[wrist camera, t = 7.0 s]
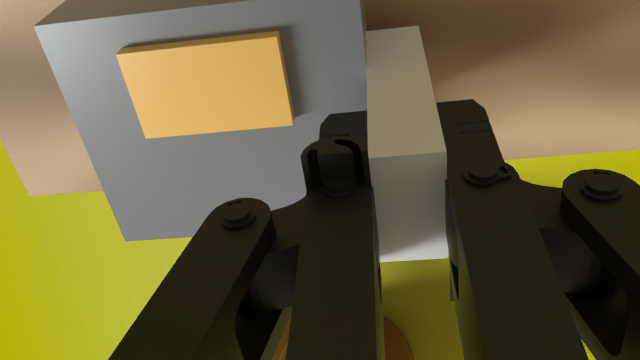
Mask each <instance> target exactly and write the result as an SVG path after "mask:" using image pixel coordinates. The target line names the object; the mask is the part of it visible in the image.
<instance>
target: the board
mask: <svg viewBox="0 0 640 360" xmlns="http://www.w3.org/2000/svg"><path fill="white" fill-rule="evenodd" d="M64 1H66V0H0V140H1V141H2V143H3V145H4V147H5V149H6V151H7V153H8V155H9V157H10V159H11V161H12V163H13V165H14V167H15V169H16V171H17V173H18V174H19V176H20V178H21V180H22V182H23V184H24V186H25V188H26V190H27V192H28V194H29V196H40V195H53V194H66V193H79V192H92V191H104V190H103V188H102V185H101V183H100V181H99V178H98V176H97V174H96V171H95V169H94V167H93V164H92V162H91V160H90V157H89V155H88V153H87V150H86V148H85V146H84V143H83V141H82V139H81V136H80V134H79V132H78V129H77V127H76V125H75V122H74V120H73V118H72V115H71V113H70V111H69V108H68V106H67V104H66V101H65V99H64V97H63V94H62V92H61V90H60V87H59V85H58V83H57V80H56V78H55V76H54V73H53V71H52V69H51V66H50V64H49V62H48V59H47V57H46V54H45V52H44V50H43V47H42V45H41V43H40V40H39V38H38V36H37V33H36V31H35V29H34V25H35V24H37V23H38V22H39V21H40V20H42V19H43V18H44V17H45V16H47V15H48V14H49V13H51V12H52V11H53V10H54V9H56V8H57V7H58V6H59V5H61V4H62V3H63V2H64ZM364 7H365V18H366V28H367V31H373V30H382V29H391V28H400V27H410V26H419V29H420V34H421V38H422V43H423V47H424V52H425V56H426V61H427V65H428V70H429V74H430V79H431V83H432V88H433V92H434V97H435V101H436V102H447V101H457V100H468V99H473V100H474V101H476V102H477V103H478V104H480V105H481V106H482V107H484V108H485V110H486V113H487V115H488V118H489V122H490V124H491V126H492V129H493V132H494V135H495V137H496V140H497V143H498V146H499V149H500V151H501V154H502V157H503V160H507V159H520V158H533V157H546V156H559V155H572V154H585V153H598V152H611V151H624V150H637V149H640V0H364Z"/></svg>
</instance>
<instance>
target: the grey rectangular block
mask: <svg viewBox="0 0 640 360" xmlns="http://www.w3.org/2000/svg"><path fill="white" fill-rule="evenodd" d="M34 29H35V31H36V33H37V36H38V38H39V40H40V43H41V45H42V47H43V50H44V52H45V54H46V57H47V59H48V62H49V64H50V66H51V69H52V71H53V73H54V76H55V78H56V80H57V83H58V85H59V87H60V90H61V92H62V94H63V97H64V99H65V101H66V104H67V106H68V108H69V111H70V113H71V115H72V118H73V120H74V122H75V125H76V127H77V129H78V132H79V134H80V136H81V139H82V141H83V143H84V146H85V148H86V150H87V153H88V155H89V157H90V160H91V162H92V164H93V167H94V169H95V171H96V174H97V176H98V178H99V181H100V183H101V185H102V188H103V190H104V192H105V195H106V197H107V199H108V202H109V204H110V206H111V209H112V211H113V213H114V216H115V218H116V220H117V223H118V225H119V227H120V230H121V232H122V234H123V237H124V239H125V241H137V240H152V239H166V238H181V237H193V236H194V235H195V233H196V232H197V231H198V229H199V228H200V226H201V225H202V223H203V222H204V220H205V219H206V218H207V216H208V215H209V214H210V213H211V212H212V211H213V210H214V209H215V208H216V207H218V206H219V205H221V204H223V203H225V202H227V201H230V200H234V199H237V198H255V199H260V200H262V201H264V202H265V203H266V204H268V205H269V208H270V210H271V211H272V210H275V209H279V208H282V207H285V206H288V205H291V204H293V203H295V202H297V201H299V200H301V199H302V198H303V197H305V196H306V191H307V190H306V185H305V179H304V174H303V169H302V163H301V158H300V156H301V154H302V152H303V150H304V149H305V148H306V147H307V146H309V145H310V144H311V143H313V142H315V141H318V140H319V132H320V125H321V124H322V122H323V121H324V120H325V119H326V118H327V116H328V115H329V114H334V113H345V112H355V111H366V110H367V77H366V31H367V28H366V18H365V7H364V0H66V1H64V2H63V3H62V4H61V5H59V6H58V7H57V8H56V9H54V10H53V11H52V12H51V13H49V14H48V15H47V16H45V17H44V18H43V19H42V20H40V21H39V22H38V23H37V24H35V25H34Z"/></svg>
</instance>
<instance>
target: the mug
mask: <svg viewBox="0 0 640 360" xmlns="http://www.w3.org/2000/svg"><path fill="white" fill-rule="evenodd" d="M290 321H291V316H290V319H289V321H288V323H287V326H286V328H285V330H284V333H283V335H282V337H281V339H280V342H279V344H278V346H277V349H276V351H275V353H274V356H273V358H272V360H286V353H287V345H288V337H289V329H290ZM383 325H384V348H385V360H414V357H413V354H412V351H411V348H410V346H409V343H408V342H407V340H406V338H405V337H404V336H403V335H402V333H401V332H400V331H399V330H398V329H397V328H396V327H395V326H394V325H392V324H391V323H390V322H388V321H387V320H385V319H384V318H383Z"/></svg>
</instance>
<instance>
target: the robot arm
mask: <svg viewBox="0 0 640 360" xmlns="http://www.w3.org/2000/svg"><path fill="white" fill-rule="evenodd" d="M366 77H367V110H366V111H355V112H345V113H334V114H329V115H328V116H327V118H326V119H325V120H324V121H323V122H322V124H321V125H320V132H319V140H318V141H315V142H313V143H311V144H310V145H309V146H307V147H306V148H305V149H304V150H303V152H302V154H301V156H300V158H301V163H302V169H303V174H304V179H305V185H306V190H307V191H306V196H305V197H303V198H302V199H301V200H299V201H297V202H295V203H293V204H291V205H288V206H285V207H282V208H279V209H275V210H272V211H271V210H270V208H269V205H268V204H266V203H265V202H264V201H262V200H260V199H255V198H237V199H234V200H230V201H227V202H225V203H223V204H221V205H219V206H218V207H216V208H215V209H214V210H213V211H212V212H211V213H210V214H209V215H208V216H207V218H206V219H205V220H204V222H203V223H202V225H201V226H200V228H199V229H198V231H197V232H196V233H195V235H194V236H193V238H192V239H191V241H190V242H189V244H188V245H187V246H186V248H185V249H184V251H183V252H182V254H181V255H180V257H179V258H178V259H177V261H176V262H175V264H174V265H173V267H172V268H171V270H170V271H169V272H168V274H167V275H166V277H165V278H164V280H163V281H162V283H161V284H160V285H159V287H158V288H157V290H156V291H155V293H154V294H153V296H152V297H151V298H150V300H149V301H148V303H147V304H146V306H145V307H144V309H143V310H142V311H141V313H140V314H139V316H138V317H137V319H136V320H135V322H134V323H133V324H132V326H131V327H130V329H129V330H128V332H127V333H126V335H125V336H124V337H123V339H122V340H121V342H120V343H119V345H118V346H117V348H116V349H115V350H114V352H113V353H112V355H111V356H110V358H109V359H108V360H272V358H273V356H274V353H275V351H276V349H277V346H278V344H279V342H280V339H281V337H282V335H283V333H284V330H285V328H286V326H287V323H288V321H289V319H290V316H291V321H290V329H289V337H288V345H287V353H286V360H385V348H384V325H383V302H382V280H381V270H380V262H394V261H410V260H426V259H443V258H448V249H449V254H450V301H455V307H456V312H457V318H458V324H459V330H460V336H461V341H462V347H463V353H464V359H465V360H589V359H588V357H587V354H586V351H585V349H584V346H583V343H582V341H581V339H582V340H583V342H584V343H585V344H586V346H587V347H588V349H589V350H590V351H591V353H592V354H593V356H594V357H595V358H596V360H640V186H639V185H638V184H637V183H636V182H635V181H633V180H631V179H630V178H628V177H627V176H625V175H623V174H619V173H616V172H613V171H610V170H601V169H590V170H581V171H578V172H576V173H573V174H570V175H569V176H568V177H567V178H566V179H565V180H564V181H563V187H562V188H556V187H548V186H541V185H536V184H531V183H529V182H526V181H523V180H521V179H520V178H519V175H518V173H517V172H516V170H515V169H514V168H513V167H512V166H511V165H509V164H507V163H505V162H504V160H503V157H502V154H501V151H500V149H499V146H498V143H497V140H496V137H495V135H494V132H493V129H492V126H491V124H490V122H489V118H488V115H487V113H486V110H485V108H484V107H482V106H481V105H480V104H478V103H477V102H476V101H474V100H473V99H468V100H457V101H447V102H436V101H435V97H434V92H433V88H432V83H431V79H430V74H429V70H428V65H427V61H426V56H425V52H424V47H423V43H422V38H421V34H420V29H419V26H410V27H400V28H391V29H382V30H373V31H366ZM580 337H581V338H580Z"/></svg>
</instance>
